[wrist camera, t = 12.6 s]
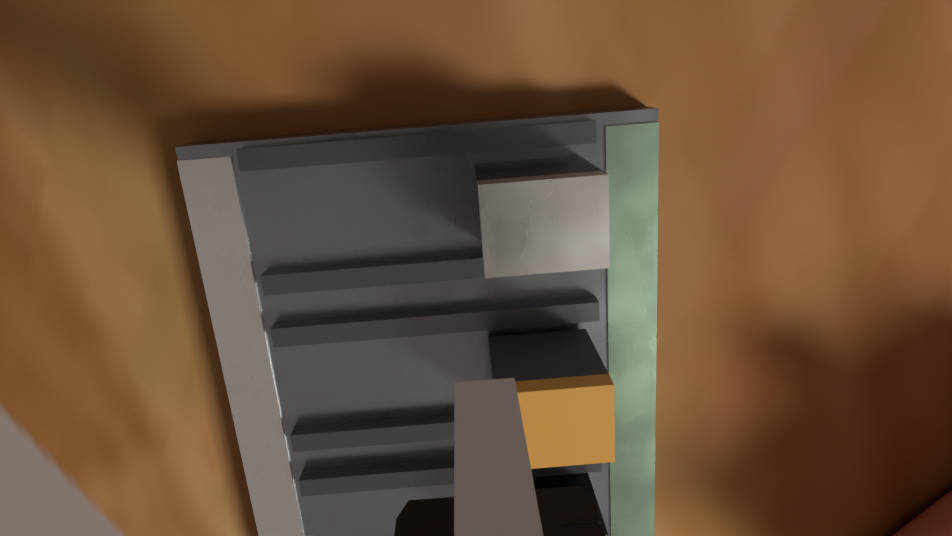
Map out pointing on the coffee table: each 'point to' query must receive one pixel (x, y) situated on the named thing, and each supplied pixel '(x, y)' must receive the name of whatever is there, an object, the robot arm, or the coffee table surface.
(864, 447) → the coffee table surface
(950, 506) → the teapot
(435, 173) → the panel
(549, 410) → the breaker
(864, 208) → the coffee table surface
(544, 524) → the robot arm
